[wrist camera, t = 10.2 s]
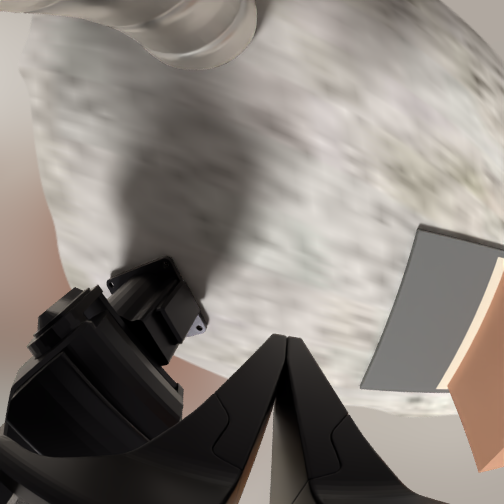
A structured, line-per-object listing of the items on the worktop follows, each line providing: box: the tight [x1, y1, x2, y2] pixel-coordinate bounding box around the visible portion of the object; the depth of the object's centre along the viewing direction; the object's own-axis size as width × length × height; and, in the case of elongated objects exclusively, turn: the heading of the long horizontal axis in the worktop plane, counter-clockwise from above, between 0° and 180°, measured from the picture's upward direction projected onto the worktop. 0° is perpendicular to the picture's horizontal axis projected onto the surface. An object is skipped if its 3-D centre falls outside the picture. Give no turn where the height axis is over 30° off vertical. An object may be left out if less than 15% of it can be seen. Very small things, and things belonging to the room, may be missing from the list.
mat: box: [360, 229, 504, 393], centre depth 20 cm, size 24×14×1 cm, turn 83°
